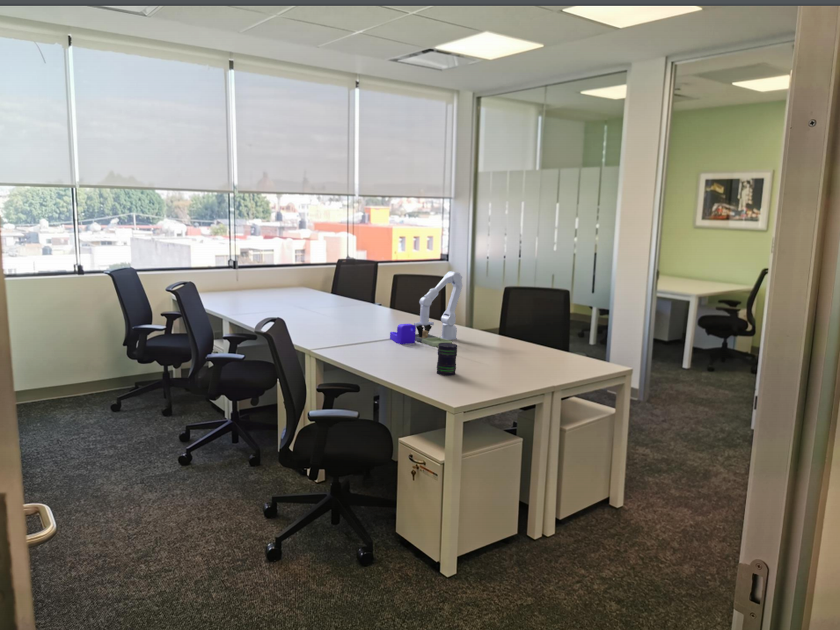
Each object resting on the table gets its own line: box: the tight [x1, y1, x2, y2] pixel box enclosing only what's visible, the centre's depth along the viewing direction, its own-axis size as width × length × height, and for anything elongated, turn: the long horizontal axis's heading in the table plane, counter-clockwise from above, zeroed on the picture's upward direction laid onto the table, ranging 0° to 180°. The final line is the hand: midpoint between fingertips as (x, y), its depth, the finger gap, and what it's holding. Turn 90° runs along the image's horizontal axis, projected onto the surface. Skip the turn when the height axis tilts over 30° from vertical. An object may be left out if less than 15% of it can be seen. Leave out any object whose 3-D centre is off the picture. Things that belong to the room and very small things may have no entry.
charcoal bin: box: [415, 333, 438, 343], centre depth 402 cm, size 14×13×2 cm
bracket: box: [389, 323, 417, 345], centre depth 393 cm, size 18×11×12 cm, turn 38°
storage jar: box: [436, 342, 458, 377], centre depth 318 cm, size 10×10×15 cm
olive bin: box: [421, 336, 453, 348], centre depth 391 cm, size 14×13×2 cm
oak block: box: [419, 329, 429, 338], centre depth 402 cm, size 4×4×5 cm
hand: (423, 336), depth 402 cm, fingers closed on oak block, 4 cm apart
